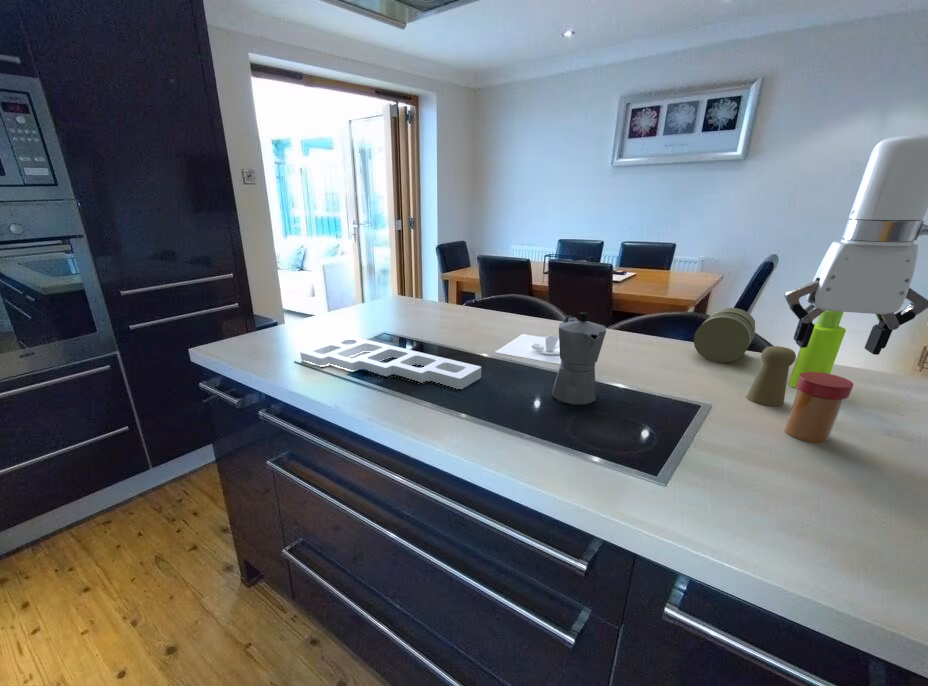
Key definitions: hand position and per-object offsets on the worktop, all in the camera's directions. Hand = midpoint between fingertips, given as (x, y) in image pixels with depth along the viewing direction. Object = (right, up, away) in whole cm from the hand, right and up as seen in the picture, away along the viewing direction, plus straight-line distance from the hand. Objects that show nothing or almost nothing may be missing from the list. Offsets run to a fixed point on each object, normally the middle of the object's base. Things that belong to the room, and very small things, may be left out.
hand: (835, 348), depth 70 cm
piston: (+11, +1, +43) cm, 45 cm away
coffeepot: (-34, -8, +24) cm, 42 cm away
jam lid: (0, -5, +2) cm, 6 cm away
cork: (+4, -9, +19) cm, 21 cm away
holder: (-74, -2, +40) cm, 85 cm away
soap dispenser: (+17, -6, +24) cm, 30 cm away
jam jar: (+1, -14, +6) cm, 16 cm away
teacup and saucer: (-32, +4, +52) cm, 61 cm away
